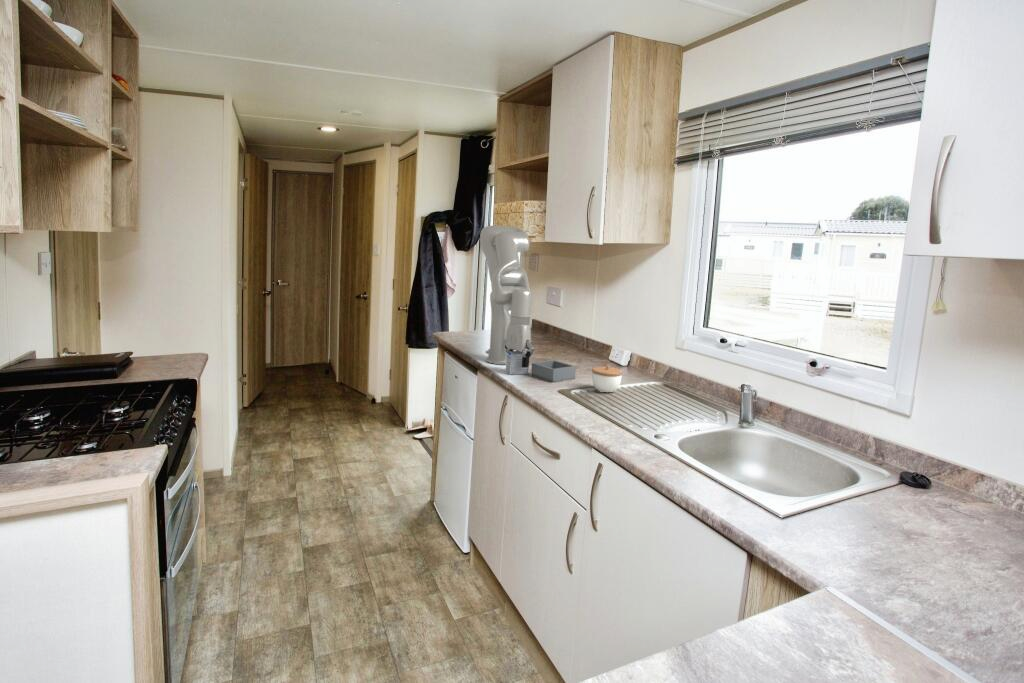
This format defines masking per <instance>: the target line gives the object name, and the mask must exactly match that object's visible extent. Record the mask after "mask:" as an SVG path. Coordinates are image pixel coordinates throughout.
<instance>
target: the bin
mask: <svg viewBox="0 0 1024 683" xmlns="http://www.w3.org/2000/svg"><path fill="white" fill-rule="evenodd" d="M576 367H577V366H575V365H573V364H570V363H565V362H563V361H559V360H555V359H553V360H552V359H551V360H545V361H538V362H532V363H531V369H530V370H531V371H530V372H531V374H530V376H531V375H532V377H534V376H535V378H537V377H538V379H540V378H541V379H540V380H543V379H544V380H543V381H546V380H547V382H550V383H552V382H553V383H558V382H564V380H565V381H570V379H571V380H576V369H577V368H576Z"/></svg>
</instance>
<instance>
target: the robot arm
mask: <svg viewBox="0 0 1024 683" xmlns="http://www.w3.org/2000/svg"><path fill="white" fill-rule="evenodd" d="M479 235H480V236H479V241H480V248H481V250H482V252H483V254H484V257H485V259H486V262H487V269H488V274H489V279H490V280H489V281H490V283H491V285H490V286H491V292H490V295H489V301H490V309H491V310H490V311H491V313H490V314H491V315H490V316H491V317H490V320H491V322H490V337H489V338H490V339H489V348H488V350H485V353H486V354H487V355H488V356H487V357H486V358H485V362H486V361H487V363H488V362H489V363H488V364H492V363H493V364H494V365H501V364H506V362H507V352H508V351H522V354H523V356H524V357H522V367H523V368H524V367H529V366H530V358H531V357H532V355H533V353H534V351H535V347H534V345H532V343H531V342H532V336H531V335H532V333H531V332H532V330H531V324H530V323H531V306H532V301H533V299H532V291H531V286H530V282H529V277H528V273H527V271H526V270H525V268H524V267H523V266H522V267H521V266H520V264H521V263H520V259H519V253H527V252H528V251H529V249H530V246H531V245H530V242H531V241H530V237H529V235H528V233H527V232H526V231H524V230H523V229H521V228H520V227H517V226H506V225H488V226H487V225H486V226H485V227H483V228H482V229H481V231H480V234H479ZM509 311H510V312H509ZM525 352H526V353H525ZM493 364H492V365H493ZM529 368H530V367H529Z"/></svg>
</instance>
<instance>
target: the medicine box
mask: <svg viewBox="0 0 1024 683" xmlns="http://www.w3.org/2000/svg"><path fill="white" fill-rule="evenodd" d="M525 353H526V352H525ZM522 357H524V356H523V354H522V351H516V350H514V351H508V352H507V362H506V365H505V372H507V373H506V374H507V375H509V374H510V376H512V375H511V374H518V375H529V368H530V367H524V368H523V367H522Z"/></svg>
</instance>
